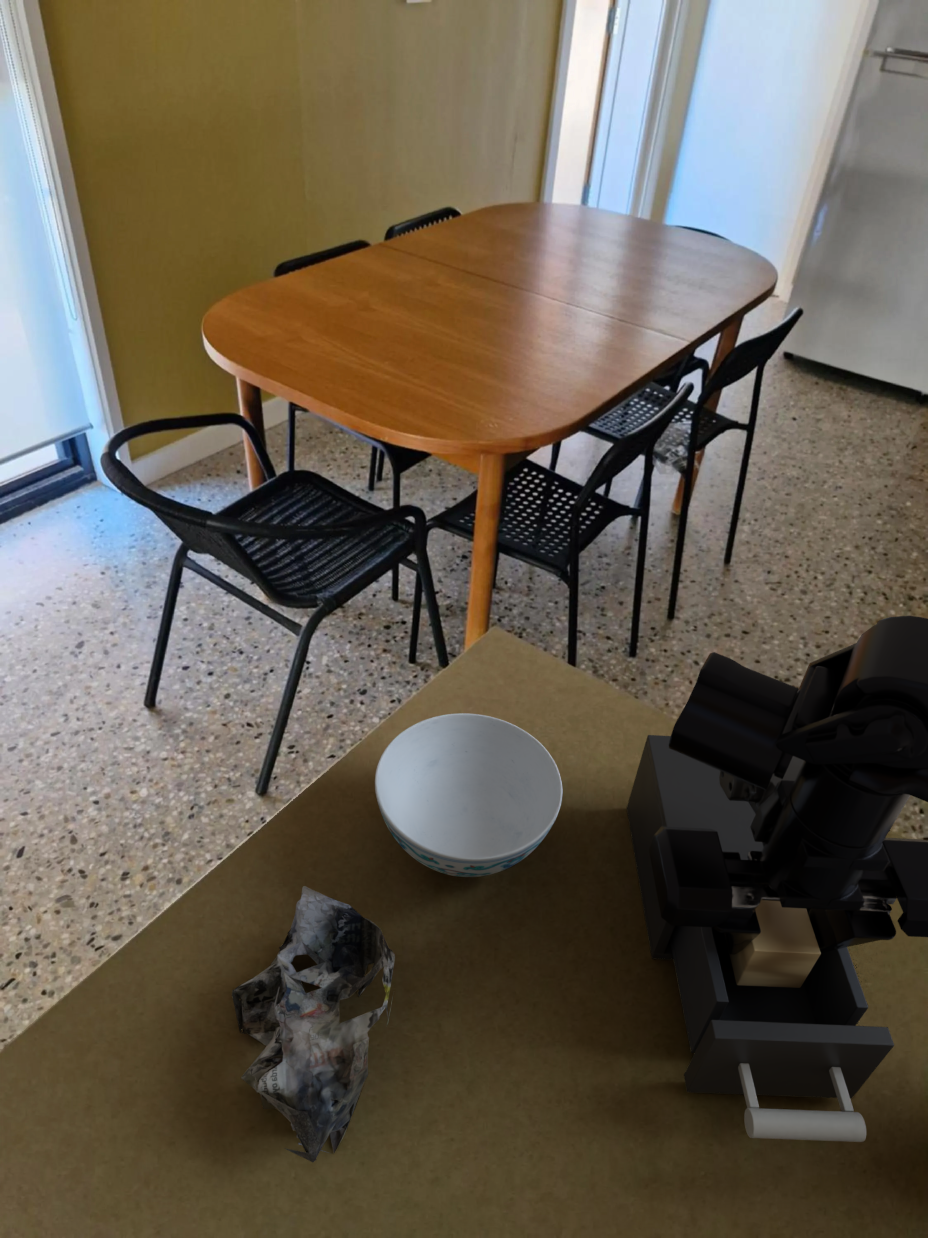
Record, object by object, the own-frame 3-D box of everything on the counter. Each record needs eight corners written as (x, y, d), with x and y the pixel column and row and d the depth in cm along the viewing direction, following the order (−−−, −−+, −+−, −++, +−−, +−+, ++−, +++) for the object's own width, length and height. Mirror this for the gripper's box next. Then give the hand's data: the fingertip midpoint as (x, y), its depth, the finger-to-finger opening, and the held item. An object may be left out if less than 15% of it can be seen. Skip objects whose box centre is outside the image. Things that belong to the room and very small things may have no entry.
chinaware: (494, 952, 68) (504, 894, 63) (338, 859, 73) (336, 799, 69) (579, 821, 78) (593, 762, 73) (436, 748, 84) (440, 689, 79)
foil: (455, 946, 64) (360, 1046, 50) (403, 1071, 66) (297, 1200, 52) (324, 869, 68) (201, 941, 54) (278, 989, 70) (148, 1089, 56)
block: (783, 929, 65) (802, 894, 62) (800, 988, 61) (821, 953, 59) (722, 926, 65) (738, 891, 62) (736, 985, 61) (754, 950, 58)
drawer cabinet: (812, 966, 69) (855, 895, 63) (651, 959, 68) (679, 887, 62) (764, 815, 80) (797, 742, 74) (626, 808, 80) (647, 734, 74)
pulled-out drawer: (874, 1169, 57) (921, 1119, 52) (699, 1163, 57) (730, 1112, 52) (796, 921, 71) (828, 862, 66) (654, 914, 70) (676, 855, 65)
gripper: (938, 718, 59) (856, 859, 69) (661, 703, 58) (618, 847, 68) (1017, 859, 50) (911, 997, 60) (693, 843, 50) (639, 985, 60)
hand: (764, 949), depth 62 cm, fingers closed on block, 4 cm apart
